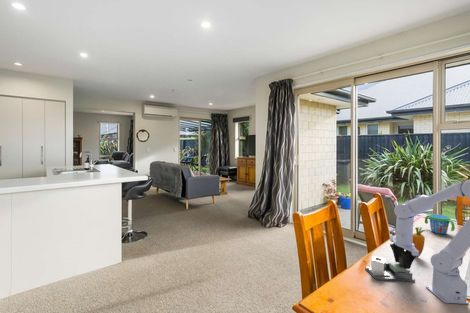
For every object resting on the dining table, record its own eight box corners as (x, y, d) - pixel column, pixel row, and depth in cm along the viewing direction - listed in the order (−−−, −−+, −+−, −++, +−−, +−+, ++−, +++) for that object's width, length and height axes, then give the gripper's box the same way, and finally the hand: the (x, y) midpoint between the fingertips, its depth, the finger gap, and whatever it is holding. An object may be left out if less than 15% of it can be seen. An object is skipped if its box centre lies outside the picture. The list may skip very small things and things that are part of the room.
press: (415, 282, 98) (415, 273, 97) (375, 280, 98) (376, 272, 98) (400, 270, 107) (401, 262, 107) (365, 268, 108) (365, 261, 107)
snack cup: (419, 228, 161) (420, 213, 160) (432, 227, 163) (433, 212, 162) (444, 237, 145) (446, 220, 145) (458, 236, 148) (459, 219, 147)
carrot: (418, 255, 122) (419, 225, 121) (426, 259, 117) (428, 228, 116) (408, 255, 122) (409, 225, 121) (415, 259, 117) (417, 228, 116)
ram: (410, 275, 99) (410, 261, 99) (397, 274, 99) (398, 260, 99) (400, 267, 105) (401, 254, 105) (389, 267, 105) (390, 254, 105)
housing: (383, 275, 100) (384, 262, 99) (370, 271, 102) (371, 259, 102) (385, 270, 103) (385, 258, 103) (372, 267, 106) (373, 255, 106)
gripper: (427, 239, 94) (425, 274, 95) (402, 226, 109) (400, 257, 109) (409, 239, 94) (407, 274, 95) (385, 226, 109) (384, 257, 109)
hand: (402, 265), depth 102 cm, fingers open, 5 cm apart
